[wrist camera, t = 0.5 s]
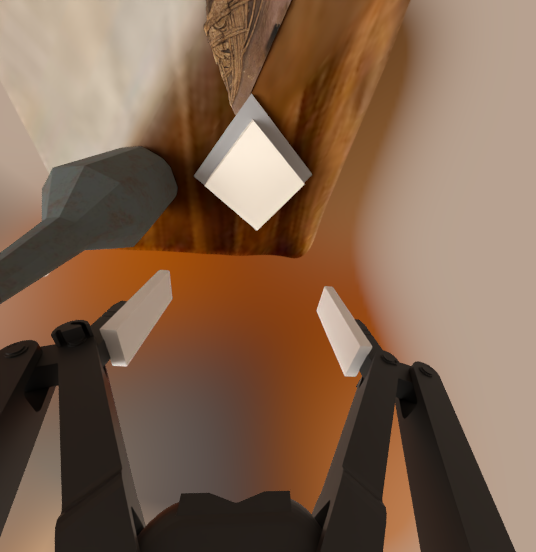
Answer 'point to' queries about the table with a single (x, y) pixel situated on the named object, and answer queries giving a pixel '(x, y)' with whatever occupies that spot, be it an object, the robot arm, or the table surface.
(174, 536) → the robot arm
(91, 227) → the bottle
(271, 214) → the pedestal
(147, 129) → the table surface
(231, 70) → the wooden fragment
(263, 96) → the table surface
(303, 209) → the table surface
